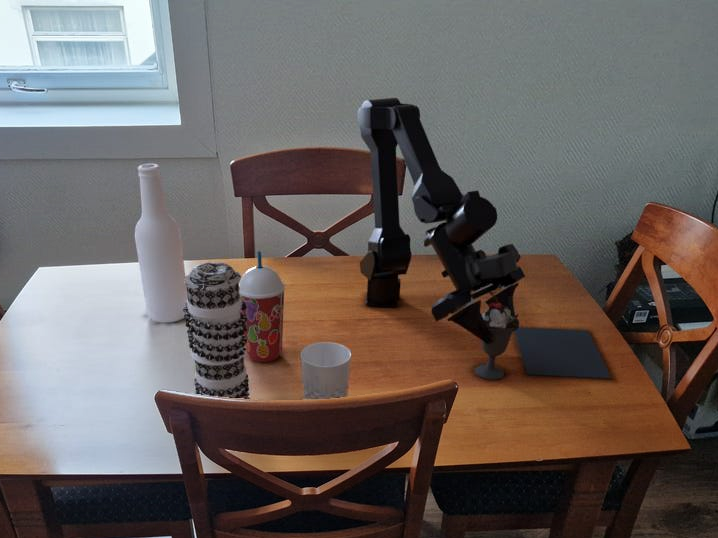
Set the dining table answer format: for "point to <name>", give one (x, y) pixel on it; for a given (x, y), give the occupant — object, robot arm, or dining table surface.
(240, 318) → the decorative candle
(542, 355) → the dark blue rectangular panel
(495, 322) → the sundae
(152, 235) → the alcohol
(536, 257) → the dining table surface
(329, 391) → the white cup
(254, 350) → the smoothie
